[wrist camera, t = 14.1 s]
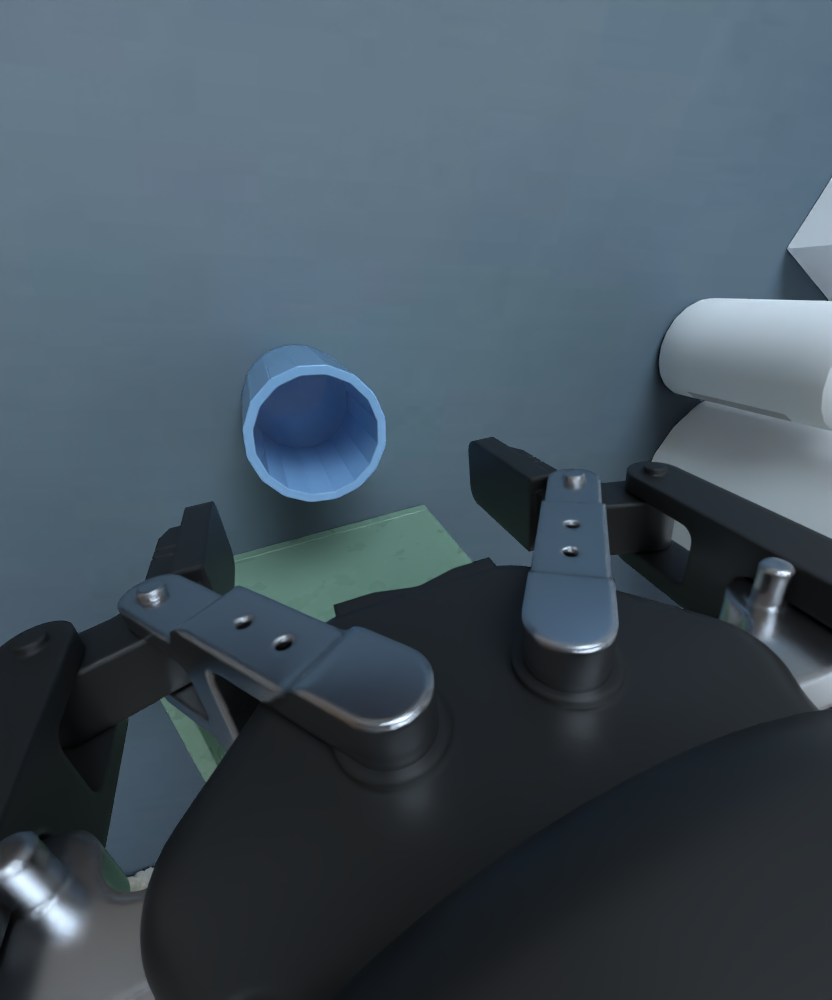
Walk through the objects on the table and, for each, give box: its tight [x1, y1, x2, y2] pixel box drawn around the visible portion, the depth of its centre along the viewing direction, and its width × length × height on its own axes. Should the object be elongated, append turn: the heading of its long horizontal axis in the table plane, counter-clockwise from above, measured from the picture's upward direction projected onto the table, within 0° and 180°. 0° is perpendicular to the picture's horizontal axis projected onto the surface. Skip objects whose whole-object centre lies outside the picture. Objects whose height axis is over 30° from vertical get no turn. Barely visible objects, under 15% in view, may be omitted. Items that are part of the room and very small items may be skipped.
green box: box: [160, 505, 472, 783], centre depth 28 cm, size 16×13×10 cm
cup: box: [242, 345, 386, 502], centre depth 23 cm, size 6×6×8 cm
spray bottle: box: [659, 298, 832, 431], centre depth 26 cm, size 7×7×18 cm
